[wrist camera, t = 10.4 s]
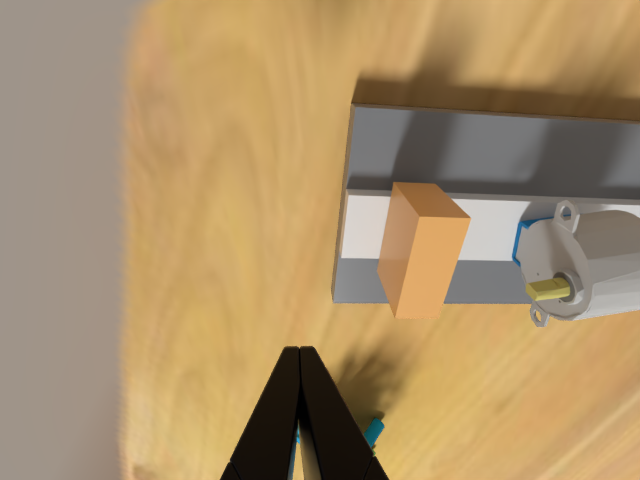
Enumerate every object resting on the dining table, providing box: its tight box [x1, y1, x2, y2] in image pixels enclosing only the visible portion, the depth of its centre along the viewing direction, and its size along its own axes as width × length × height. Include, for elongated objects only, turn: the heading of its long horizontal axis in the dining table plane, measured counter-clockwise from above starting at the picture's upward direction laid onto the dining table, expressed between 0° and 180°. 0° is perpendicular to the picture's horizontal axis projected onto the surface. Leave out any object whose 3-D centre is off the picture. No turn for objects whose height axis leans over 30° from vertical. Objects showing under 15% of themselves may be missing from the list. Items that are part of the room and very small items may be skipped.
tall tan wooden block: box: [377, 182, 471, 318], centre depth 15 cm, size 2×5×4 cm, turn 176°
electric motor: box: [512, 199, 640, 327], centre depth 15 cm, size 7×5×5 cm
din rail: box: [331, 103, 640, 304], centre depth 17 cm, size 18×11×4 cm, turn 86°
